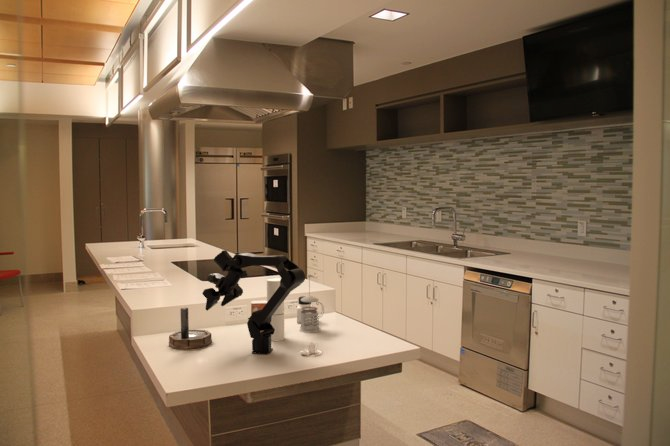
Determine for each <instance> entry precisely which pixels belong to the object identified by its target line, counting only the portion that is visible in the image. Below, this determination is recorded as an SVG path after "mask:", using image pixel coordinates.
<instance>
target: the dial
mask: <svg viewBox="0 0 670 446" xmlns="http://www.w3.org/2000/svg"><path fill="white" fill-rule="evenodd" d="M189 325H190V324H189V307H180V331H181V333H178V334H176V335H175V336H174V337H175V338H176V339H195V338H201V337H204V336H205V335H206V333H205V332H201V331H189V330H190V329H189V328H190V327H189Z"/></svg>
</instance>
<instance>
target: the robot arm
mask: <svg viewBox="0 0 670 446" xmlns="http://www.w3.org/2000/svg"><path fill="white" fill-rule="evenodd" d="M213 263H214V264H215V265H217V267H218V268H219V269H220V270H221V271H222V272H226V274H225V275H223V274H221V273H219V272H215V273H210V274H208V276H207V279H206V280H207V282H208V283H211V284H214V285H215V286H214V287H215V288H216V289H218V290H216V289H214V288H213V287H209V288H206V289H203V291H202V293H201V294H202V295H203V297H204V298H206V303H205V310H206V312H207V311H209V310H210V309H212V308H213V307H215V306H216V304H218V303H219V301H220V300H221V297H223V299H222V301H221V303H220V306H221V307H224V306H226V305H228V304H229V303H230V302H232V301H234V300H236V299H238V298H239V297H241V296H242V295H243V293H244V290H243V288H242V287H241V286H240V284H239V281H240V280H241V279H244V278H248V272H247V270H244V268H245V269H246V268H249V267H255V266H257V267H275V268H276V270H277V273H278V275H279V276H280V279H281V280H280V286H279V288H278V289H277V290H276V291H275V293H274V294H273V295H272V297H271V298H270V299H269V301H268V302H267V303H266V305H265V306H264V307H263V309H261V310H258V311H255V312H253V313H252V315H251V314H250V316H249V317H248V318H247V320H248V321H247V322H246V325H247V329H248V333H249V336H250V338H251V339H252V340H251V343H252V344H251V348H252V351H251V354H259V355H268V354H270V353H271V352H272V351H273V350H274V348H273V347H272V341H271V335H272V334H274V331H275V329H274V328H273V326H272V325H271V324H270V323H271V318H272V315H273V314H274V313H275V311H276V310H277V309H278V307H279V306H280V305H281V304H282V302H283V301H284V302H285V300H286V298H287V297H288V296H289V295H290V293H291V292H292V291H293V290H296V289H297V288H298V287H300V286H301V284H303V283H304V282H305V280H306V275H305V272H304V270H303V269H302V268H300V266H299V265H297V263H294V262H293V261H292V260H290V259H289V258H288V256H286V255H284V254H281V255H280V254H279V255H257V254H254V253H251V252H242V253H236V254H234V255H233V257H232V256H231V254H230V253H229V252H228V251H227V250H224V249H223V250H222V251H221V252H219V253H218V254H217V255H216V256H215V257H214V258H213ZM260 331H263V332H260Z"/></svg>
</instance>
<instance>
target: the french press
mask: <svg viewBox="0 0 670 446" xmlns="http://www.w3.org/2000/svg"><path fill="white" fill-rule="evenodd" d="M306 278H309V279H308V287H309V288H308V289H309V293H308V295H305V296H306V297H303V298H302V299H301V301H302V302H309V307H303V308H302V310H304V311H301V323H300V328H299V329H298V331H299V332H301V333H305V334H306V333H309V334H311V333H318V332H320V331H321V329H320V327H319V322H320V321H319V319H320V318H322V317H323V315H324V312H325V306H324V304H323V303H322V302H320V301H319V298H317V297H316V296H312V295H311V292H310V290H311V289H310V288H311V284H310V279H311V278H312V275H311V274H307V275H306ZM310 302H311V303H315V304H316V305H318V304H320V305H321V313H320V314H319V312H318V307H316V306H313V307H310ZM307 312H310V313H313V314H305V313H307ZM308 318H312V319H308ZM305 319H307V320H305ZM308 321H311V322H308ZM305 322H306V323H305Z"/></svg>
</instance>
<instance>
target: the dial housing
mask: <svg viewBox="0 0 670 446" xmlns="http://www.w3.org/2000/svg"><path fill="white" fill-rule="evenodd" d="M189 331H201V332H205V333H206V335H205V336H204V337H201V338H195V339H176V338H175V337H174V336H175V335H176V334H178V333H181V330H179V331H175V332H173V333H171V334H169V335H168V346H169V347H170V348H171V349H175V350H196V349H200V348H205V347H207V346H209V345H211V344H212V343H213V338H212V332H210V331H208V330H206V329H194V328H193V329H189Z"/></svg>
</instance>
